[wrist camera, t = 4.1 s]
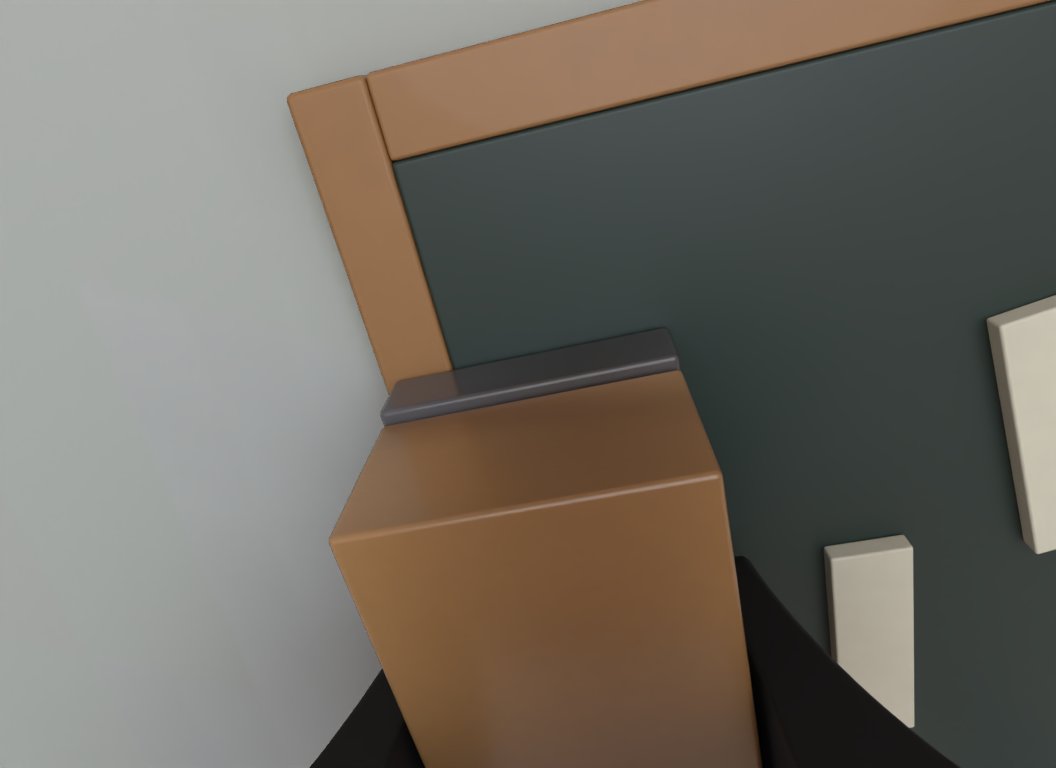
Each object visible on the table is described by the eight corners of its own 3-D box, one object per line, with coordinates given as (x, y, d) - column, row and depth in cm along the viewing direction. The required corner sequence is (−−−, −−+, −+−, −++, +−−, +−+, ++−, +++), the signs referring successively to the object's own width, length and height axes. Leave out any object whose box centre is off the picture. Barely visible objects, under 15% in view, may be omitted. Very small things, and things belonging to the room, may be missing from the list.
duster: (531, 780, 15) (522, 1000, 12) (394, 380, 11) (318, 526, 8) (736, 756, 15) (793, 980, 11) (667, 324, 11) (721, 456, 7)
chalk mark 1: (906, 711, 14) (915, 728, 14) (835, 719, 14) (842, 737, 14) (903, 533, 12) (914, 546, 12) (823, 545, 13) (830, 559, 12)
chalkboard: (563, 867, 18) (563, 901, 17) (301, 92, 10) (281, 95, 10) (1107, 813, 16) (1132, 848, 16) (1267, -161, 9) (1330, -181, 8)
